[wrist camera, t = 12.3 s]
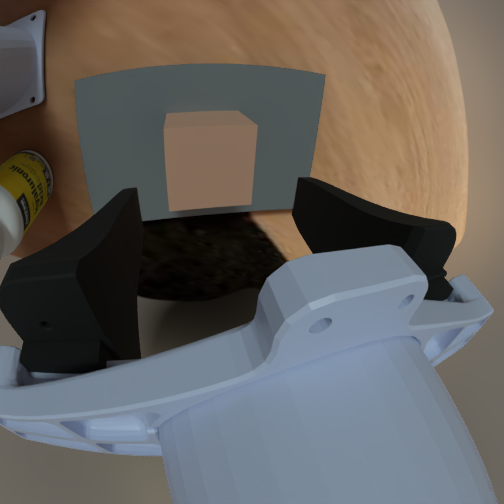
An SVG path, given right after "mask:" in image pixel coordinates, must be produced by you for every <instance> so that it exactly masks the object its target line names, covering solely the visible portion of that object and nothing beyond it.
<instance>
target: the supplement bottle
mask: <svg viewBox="0 0 504 504" xmlns="http://www.w3.org/2000/svg"><path fill="white" fill-rule="evenodd" d="M52 188H53V175H52V171H51V169H50V166H49V164H48V163H47V161H46V160H45V159H44V158H43V157H42V156H41V155H40V154H38V153H37V152H34V151H30V150H25V151H21V152H18V153H16V154H15V155H13V156H12V157H11V158H9V159H8V160H7V161H5V162H4V163H3V164H2V165H1V166H0V259H1V257H4V256H7V255H9V254H11V253H12V252H13V251H14V250H15V249H16V248H17V247H18V245H19V244H20V242H21V241H22V239H23V237H24V236H25V234H26V232H27V231H28V229H29V227H30V226H31V224H32V223H33V221H34V220H35V218H36V217H37V215H38V214H39V212H40V211H41V209H42V208H43V207H44V205H45V204H46V202H47V201H48V199H49V197H50V195H51V192H52Z"/></svg>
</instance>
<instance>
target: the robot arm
mask: <svg viewBox="0 0 504 504" xmlns="http://www.w3.org/2000/svg"><path fill="white" fill-rule="evenodd" d="M34 16H36V18H35V20H33V17H34ZM45 20H46V11H44V10H39V11H37V12H34V13H32V14H30V15H27V16H25V17H23V18H21V19H19V20H17V21H15V22H13V23H11V24H9V25H7V26H5V27H4V26H0V119H1V118H3V117H6V116H8V115H10V114H13V113H15V112H18V111H21V110H23V109H26V108H29V107H32V106H35V105H38V104H40V103H42V102H43V101H44V98H45V92H44V32H45ZM33 97H35V102H32V98H33ZM292 216H293V219H294V221H295V224H296V226H297V228H298V230H299V232H300V234H301V235H302V237H303V239H304V240H305V242H306V243H307V245H308V247H309V248H310V250H311V251H312V253H313V254H310V255H306V256H303V257H300V258H297V259H294V260H291V261H288V262H286V263H285V264H283V265H282V266H281V267H280V268H279V269H277V270H276V271H275V272H274V273H272V274H271V275H270V276H269V277H268V278H267V279H266V281H265V283H264V285H263V287H262V289H261V291H260V294H259V296H258V303H257V310H256V315H255V318H254V320H252V321H251V322H249V323H247V324H244V325H241V326H239V327H236V328H233V329H230V330H228V331H225V332H222V333H219V334H216V335H213V336H211V337H208V338H205V339H202V340H199V341H196V342H193V343H190V344H187V345H184V346H181V347H177V348H174V349H171V350H168V351H165V352H162V353H158V354H155V355H152V356H149V357H145V358H141V352H140V343H139V331H138V315H137V314H138V313H137V288H138V279H139V271H140V263H141V256H142V249H143V223H142V217H141V211H140V204H139V198H138V190H137V187H134V188H127V189H123V190H121V191H120V192H119V193H118V194H116V195H115V196H114V197H113V198H112V199H111V200H110V201H109V202H108V203H107V204H106V205H105V206H103V207H102V208H101V209H100V210H99V211H98V212H97V213H95V214H94V215H93V216H92V217H91V218H90V219H89V220H87V221H86V222H85V223H84V224H82V225H81V226H79V227H78V228H77V229H75V230H74V231H73V232H71V233H70V234H68V235H66V236H65V237H63V238H62V239H60V240H58V241H57V242H55V243H53V244H52V245H50V246H48V247H46V248H44V249H42V250H40V251H38V252H36V253H34V254H32V255H30V256H28V257H25V258H23V259H21V260H18V261H16V262H14V263H11V264H10V266H9V268H8V270H7V273H6V275H5V277H4V279H3V281H2V283H1V286H0V309H1V311H2V313H3V314H4V316H5V318H6V319H7V320H8V322H9V323H10V324H11V326H12V327H13V328H14V330H15V331H16V332H17V334H18V335H19V336H20V337H21V339H22V340H23V341H24V342H23V346H22V350H20V349H19V348H17V347H14V346H2V345H0V425H1V426H3V427H4V428H6V429H8V430H9V431H11V432H13V433H15V434H16V435H18V436H20V437H22V438H24V439H28V440H32V441H37V442H41V443H46V444H51V445H56V446H62V447H67V448H73V449H79V450H86V451H93V452H100V453H109V454H121V455H137V456H163V461H164V467H165V472H166V477H167V482H168V486H169V491H170V494H171V499H172V503H173V504H499V503H498V501H497V499H496V497H495V494H494V490H493V487H492V484H491V481H490V479H489V476H488V474H487V471H486V469H485V466H484V464H483V462H482V459H481V457H480V455H479V452H478V450H477V448H476V446H475V444H474V441H473V439H472V437H471V435H470V433H469V431H468V429H467V427H466V425H465V423H464V421H463V419H462V417H461V415H460V413H459V411H458V410H457V408H456V406H455V404H454V402H453V400H452V398H451V397H450V395H449V393H448V391H447V390H446V388H445V386H444V384H443V383H442V381H441V379H440V377H439V376H438V374H437V372H436V371H435V369H434V367H435V366H436V365H438V364H439V363H440V362H442V361H443V360H444V359H446V358H448V357H449V356H450V355H452V354H453V353H455V352H456V351H458V350H459V349H460V348H462V347H463V346H465V345H466V344H467V342H468V341H469V340H470V339H471V338H472V337H473V336H474V335H475V334H476V332H477V331H478V330H479V329H480V328H481V327H482V325H483V324H484V323H485V322H486V321H487V319H488V318H489V317H490V316H491V314H492V313H493V309H492V307H491V306H490V304H489V303H488V302H487V300H486V299H485V298H484V297H483V295H482V294H481V293H480V292H479V291H478V289H477V288H476V287H475V286H474V285H473V284H472V282H471V281H470V280H469V279H468V278H467V276H466V275H464V274H462V275H460V276H457V277H454V278H452V279H451V280H450V281H449V282H448V281H447V280H446V279H445V278H444V277H445V276H446V275H447V272H446V271H445V270H444V269H443V266H444V264H445V263H446V261H447V259H448V257H449V255H450V253H451V252H452V249H453V247H454V245H455V241H456V230H455V228H454V227H453V226H452V225H451V224H450V223H448V222H445V221H440V220H434V219H428V218H422V217H418V216H414V215H409V214H405V213H402V212H398V211H395V210H392V209H388V208H385V207H382V206H380V205H377V204H374V203H371V202H369V201H366V200H364V199H362V198H359V197H357V196H355V195H352V194H350V193H348V192H346V191H344V190H341V189H339V188H337V187H335V186H333V185H330V184H328V183H326V182H323V181H321V180H318V179H315V178H311V177H298V181H297V187H296V193H295V199H294V205H293V211H292Z"/></svg>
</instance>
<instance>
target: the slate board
mask: <svg viewBox="0 0 504 504" xmlns="http://www.w3.org/2000/svg"><path fill="white" fill-rule="evenodd" d="M325 76H326V75H324V74H319V73H313V72H307V71H301V70H294V69H287V68H279V67H269V66H258V65H243V64H180V65H166V66H154V67H145V68H137V69H130V70H124V71H117V72H112V73H106V74H101V75H96V76H92V77H87V78H83V79H79V80H75V100H76V112H77V123H78V131H79V139H80V146H81V153H82V159H83V165H84V171H85V176H86V181H87V186H88V191H89V195H90V200H91V204H92V208H93V213H94V214H95V213H97V212H98V211H99V210H100V209H101V208H102V207H103V206H105V205H106V204H107V203H108V202H109V201H110V200H111V199H112V198H113V197H114V196H115V195H116V194H118V193H119V192H120V191H121V190H123V189H127V188H134V187H137V190H138V198H139V204H140V211H141V217H142V221H148V220H157V219H167V218H177V217H187V216H198V215H209V214H221V213H234V212H247V211H262V210H278V209H293V205H294V199H295V193H296V187H297V181H298V177H310V172H311V166H312V161H313V155H314V149H315V143H316V137H317V131H318V124H319V118H320V111H321V105H322V98H323V91H324V83H325ZM197 111H239V112H241V113H242V114H243V115H245V116H246V117H247V118H249V119H250V120H251V121H253V122H254V123H255V124H257V125H258V129H257V141H256V153H255V165H254V177H253V190H252V202H251V205H238V206H225V207H212V208H201V209H190V210H180V211H170V212H169V204H168V193H167V181H166V167H165V150H164V124H165V119H166V114H167V113H180V112H197Z"/></svg>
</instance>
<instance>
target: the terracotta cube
mask: <svg viewBox="0 0 504 504" xmlns="http://www.w3.org/2000/svg"><path fill="white" fill-rule="evenodd" d="M257 129H258V125H257V124H255V123H254V122H253V121H251V120H250V119H249V118H247V117H246V116H245V115H243V114H242V113H241V112H239V111H197V112H180V113H167V114H166V119H165V124H164V150H165V167H166V181H167V193H168V204H169V212H170V211H180V210H190V209H201V208H212V207H225V206H238V205H251V202H252V190H253V177H254V165H255V153H256V141H257Z"/></svg>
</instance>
